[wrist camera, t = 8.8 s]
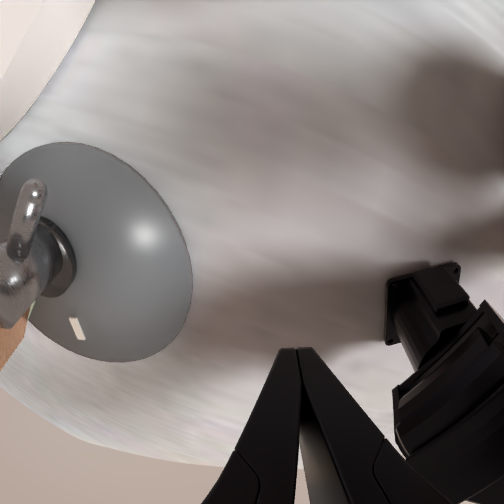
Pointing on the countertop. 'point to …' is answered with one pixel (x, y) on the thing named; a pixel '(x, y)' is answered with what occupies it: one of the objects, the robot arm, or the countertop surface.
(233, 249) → the countertop surface
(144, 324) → the dial plate
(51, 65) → the ring with crossbar
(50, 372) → the countertop surface
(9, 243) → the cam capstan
